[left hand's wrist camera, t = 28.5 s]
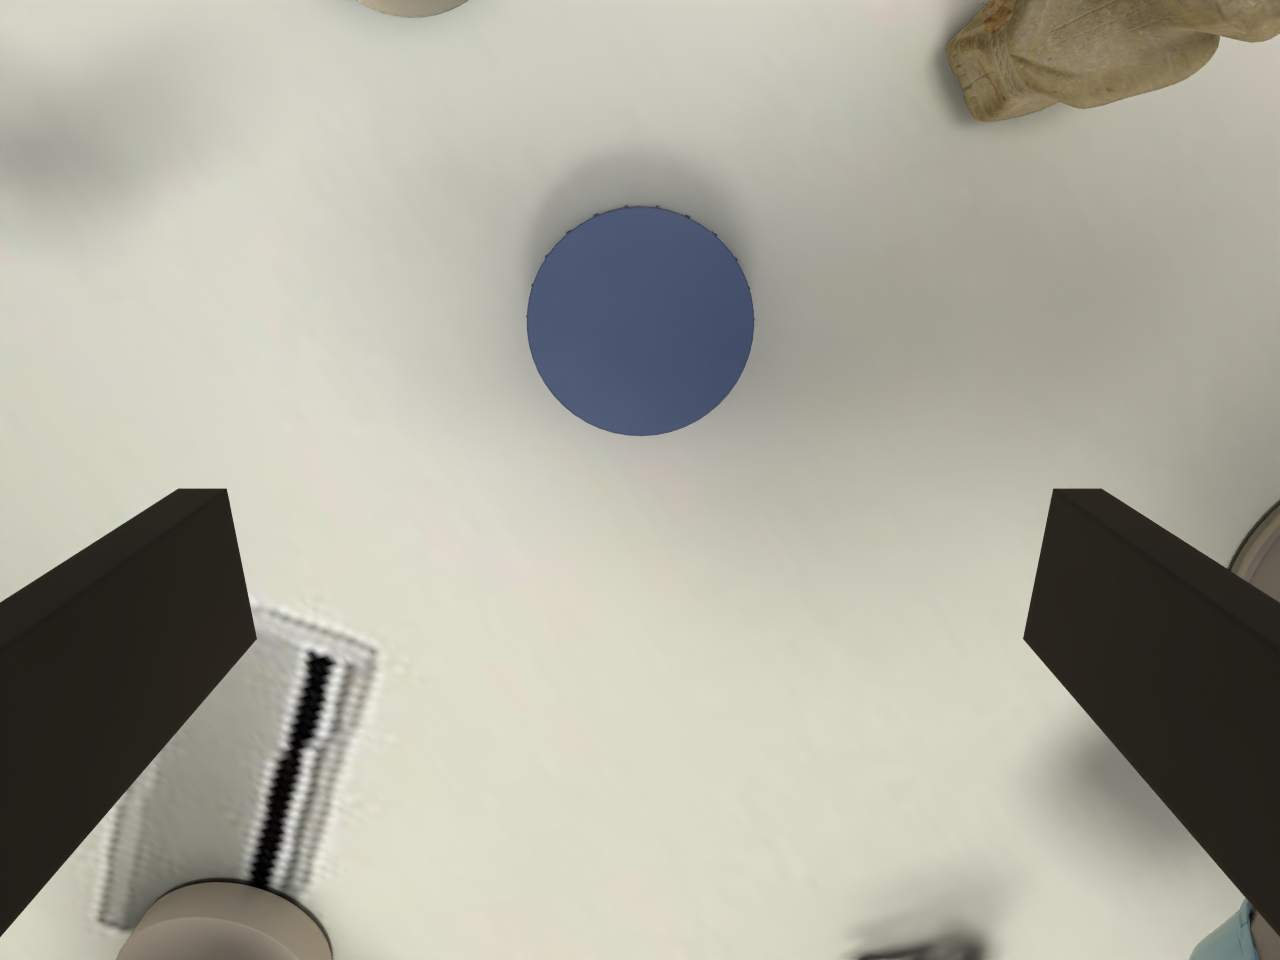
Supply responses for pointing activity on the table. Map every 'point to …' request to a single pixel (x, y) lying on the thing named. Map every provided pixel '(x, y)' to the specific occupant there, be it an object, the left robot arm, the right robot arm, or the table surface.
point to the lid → (640, 321)
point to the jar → (412, 6)
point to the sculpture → (1092, 49)
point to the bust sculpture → (225, 927)
